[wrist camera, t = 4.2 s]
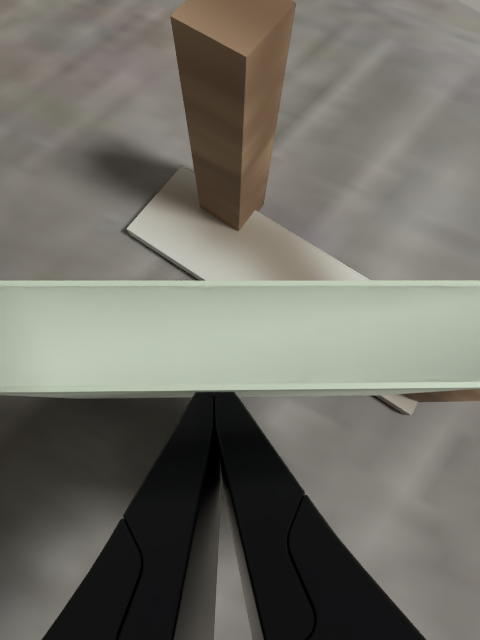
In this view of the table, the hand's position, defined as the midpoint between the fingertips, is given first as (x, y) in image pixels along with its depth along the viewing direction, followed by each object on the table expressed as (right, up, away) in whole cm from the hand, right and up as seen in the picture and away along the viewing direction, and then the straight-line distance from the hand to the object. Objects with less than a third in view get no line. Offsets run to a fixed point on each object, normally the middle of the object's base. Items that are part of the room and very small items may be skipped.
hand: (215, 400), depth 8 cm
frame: (+3, +4, +8) cm, 10 cm away
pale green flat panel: (0, 0, +6) cm, 6 cm away
